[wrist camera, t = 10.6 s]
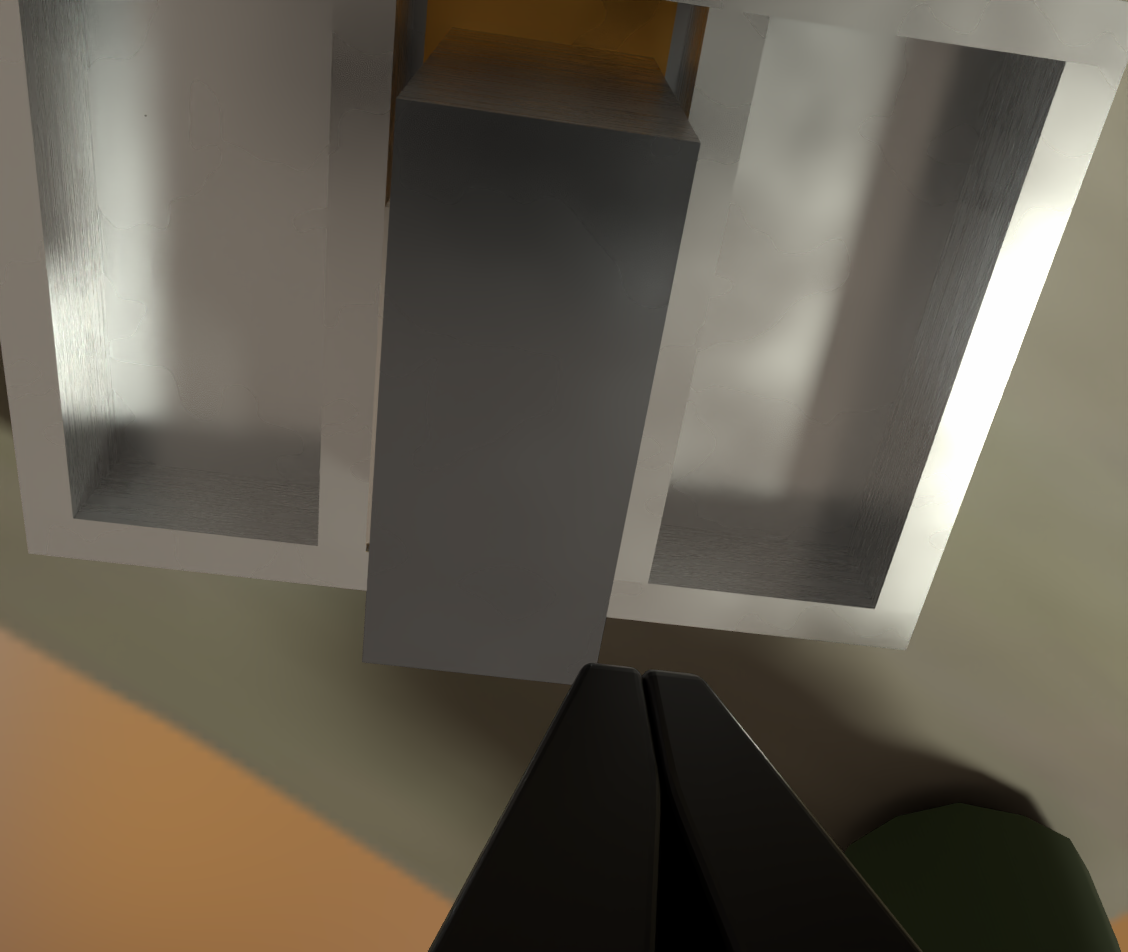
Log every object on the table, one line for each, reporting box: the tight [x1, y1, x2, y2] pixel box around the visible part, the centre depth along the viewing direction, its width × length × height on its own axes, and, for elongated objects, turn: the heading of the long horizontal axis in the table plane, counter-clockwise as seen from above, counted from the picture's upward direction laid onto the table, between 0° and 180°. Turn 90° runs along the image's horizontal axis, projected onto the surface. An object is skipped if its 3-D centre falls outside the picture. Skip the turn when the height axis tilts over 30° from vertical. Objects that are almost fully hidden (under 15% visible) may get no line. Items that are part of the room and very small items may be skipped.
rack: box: [0, 0, 1128, 650], centre depth 17 cm, size 15×11×3 cm
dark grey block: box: [362, 27, 701, 685], centre depth 15 cm, size 3×7×6 cm, turn 172°
